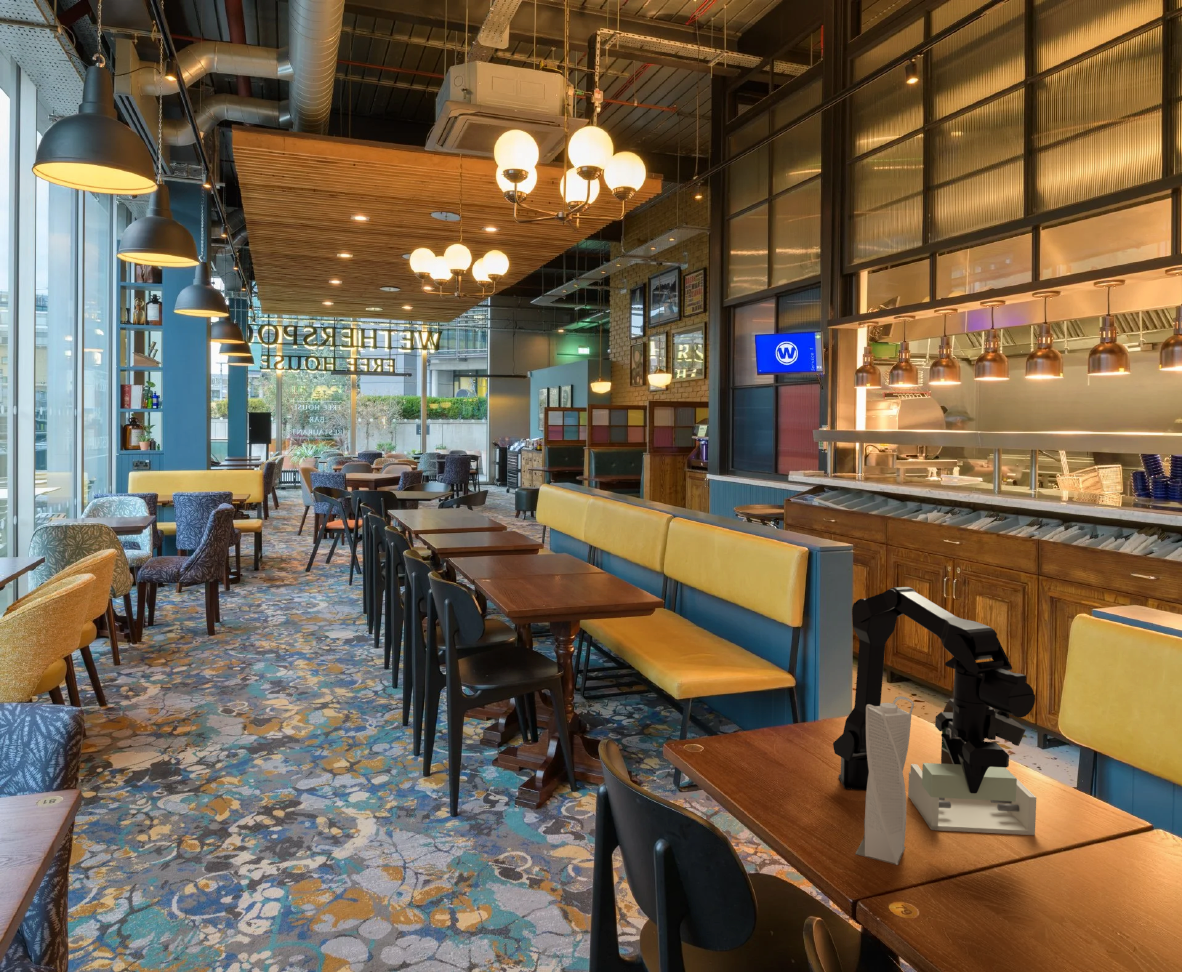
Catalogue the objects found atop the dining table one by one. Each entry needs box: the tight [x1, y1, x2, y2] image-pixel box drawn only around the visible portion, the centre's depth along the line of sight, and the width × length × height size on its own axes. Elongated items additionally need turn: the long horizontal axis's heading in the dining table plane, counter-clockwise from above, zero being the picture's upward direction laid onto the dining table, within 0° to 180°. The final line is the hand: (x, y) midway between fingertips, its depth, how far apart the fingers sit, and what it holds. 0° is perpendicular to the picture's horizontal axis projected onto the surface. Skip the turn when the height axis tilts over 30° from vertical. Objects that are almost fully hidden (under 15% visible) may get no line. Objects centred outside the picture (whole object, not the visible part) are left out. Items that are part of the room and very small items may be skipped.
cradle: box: [907, 763, 1037, 836], centre depth 155 cm, size 18×14×7 cm
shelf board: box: [921, 762, 1018, 801], centre depth 142 cm, size 14×5×4 cm, turn 85°
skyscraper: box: [855, 695, 915, 866], centre depth 140 cm, size 8×8×28 cm
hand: (967, 786), depth 142 cm, fingers closed on shelf board, 5 cm apart
